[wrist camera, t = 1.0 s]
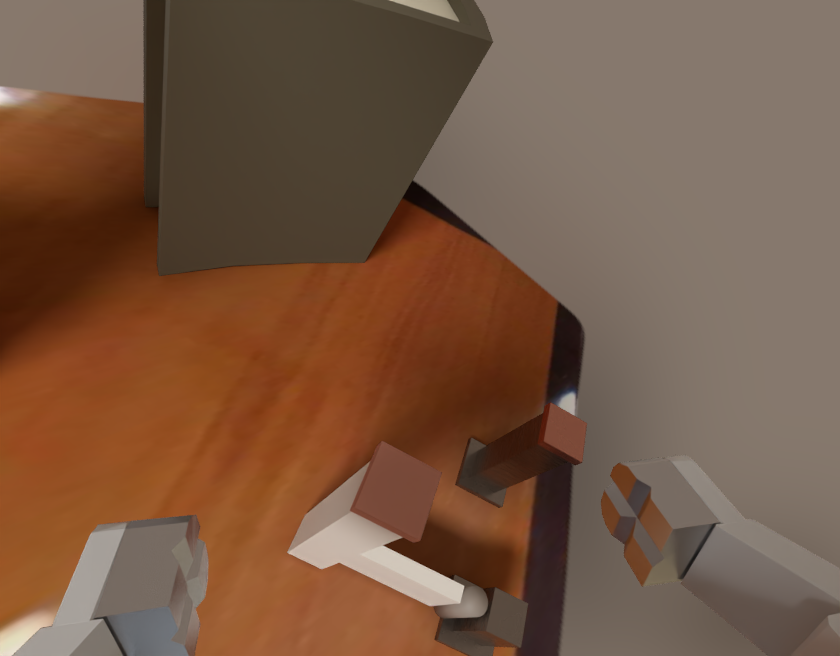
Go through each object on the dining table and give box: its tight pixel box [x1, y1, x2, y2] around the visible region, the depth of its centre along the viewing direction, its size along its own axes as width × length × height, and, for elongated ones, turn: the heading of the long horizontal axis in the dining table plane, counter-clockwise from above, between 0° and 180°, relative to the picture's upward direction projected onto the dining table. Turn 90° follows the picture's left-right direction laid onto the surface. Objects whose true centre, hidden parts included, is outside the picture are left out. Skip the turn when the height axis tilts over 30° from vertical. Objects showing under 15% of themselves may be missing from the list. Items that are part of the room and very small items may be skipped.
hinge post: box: [435, 575, 528, 656], centre depth 39 cm, size 5×5×6 cm
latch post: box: [455, 403, 587, 508], centre depth 43 cm, size 5×5×13 cm
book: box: [144, 0, 493, 276], centre depth 41 cm, size 22×9×28 cm, turn 113°
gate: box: [287, 441, 488, 619], centre depth 32 cm, size 15×4×18 cm, turn 70°
